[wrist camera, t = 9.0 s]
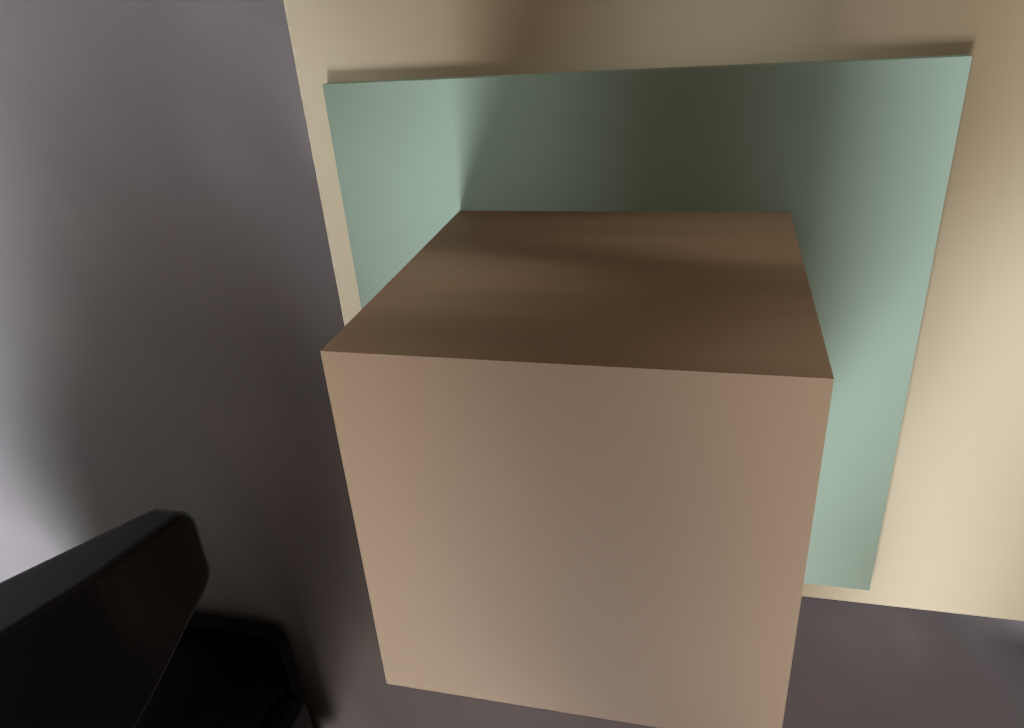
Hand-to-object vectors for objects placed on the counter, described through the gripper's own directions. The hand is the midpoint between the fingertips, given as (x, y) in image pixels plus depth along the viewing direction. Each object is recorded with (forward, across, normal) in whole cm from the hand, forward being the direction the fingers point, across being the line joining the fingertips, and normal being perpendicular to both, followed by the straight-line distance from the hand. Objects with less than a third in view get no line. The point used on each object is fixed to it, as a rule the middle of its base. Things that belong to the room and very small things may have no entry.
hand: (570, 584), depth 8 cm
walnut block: (+6, 0, 0) cm, 6 cm away
